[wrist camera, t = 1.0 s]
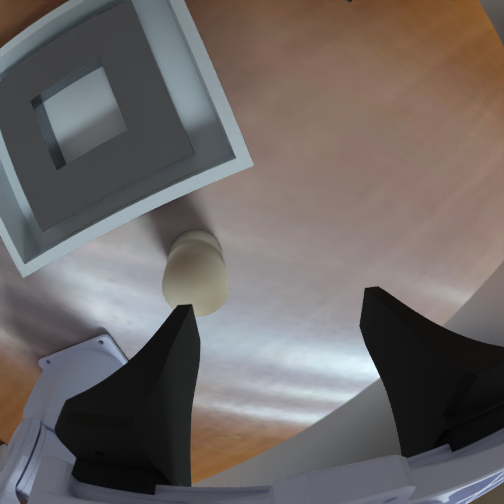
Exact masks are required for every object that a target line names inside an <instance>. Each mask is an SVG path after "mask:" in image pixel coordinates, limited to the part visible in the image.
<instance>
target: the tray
mask: <svg viewBox="0 0 504 504" xmlns="http://www.w3.org/2000/svg"><path fill="white" fill-rule="evenodd" d="M127 1H129V0H69V1H68V2H66V3H64V4H62V5H61V6H59V7H58V8H56V9H54V10H53V11H51V12H50V13H48V14H47V15H45V16H44V17H42V18H41V19H39V20H38V21H36V22H35V23H33V24H32V25H30V26H29V27H28V28H26V29H25V30H23V31H22V32H21V33H19V34H18V35H17V36H15V37H14V38H13V39H12V40H10V41H9V42H8V43H7V44H5V45H4V46H3V47H2V48H0V81H1V80H2V79H3V78H4V77H6V76H7V75H8V74H9V73H10V72H12V71H13V70H14V69H16V68H17V67H18V66H19V65H21V64H22V63H23V62H25V61H26V60H27V59H29V58H30V57H32V56H33V55H34V54H36V53H37V52H39V51H40V50H41V49H43V48H44V47H46V46H47V45H49V44H50V43H52V42H53V41H55V40H57V39H58V38H60V37H61V36H63V35H65V34H66V33H68V32H69V31H71V30H73V29H75V28H76V27H78V26H80V25H81V24H83V23H85V22H87V21H89V20H90V19H92V18H94V17H96V16H98V15H100V14H102V13H104V12H106V11H108V10H110V9H112V8H114V7H116V6H118V5H120V4H122V3H125V2H127ZM131 1H132V3H133V5H134V7H135V9H136V12H137V14H138V17H139V19H140V21H141V24H142V26H143V29H144V31H145V34H146V36H147V39H148V41H149V44H150V46H151V49H152V51H153V53H154V56H155V58H156V61H157V63H158V66H159V68H160V70H161V73H162V75H163V78H164V80H165V82H166V85H167V87H168V90H169V92H170V94H171V97H172V99H173V102H174V104H175V106H176V109H177V111H178V114H179V116H180V118H181V121H182V123H183V126H184V128H185V130H186V133H187V135H188V137H189V140H190V142H191V144H192V147H193V149H194V152H195V153H194V154H193V155H190V156H188V157H186V158H183V159H181V160H179V161H177V162H175V163H172V164H170V165H168V166H166V167H164V168H162V169H159V170H157V171H155V172H153V173H151V174H149V175H147V176H145V177H143V178H141V179H139V180H137V181H135V182H133V183H131V184H129V185H127V186H125V187H123V188H121V189H119V190H117V191H115V192H113V193H111V194H109V195H108V196H106V197H104V198H102V199H100V200H98V201H96V202H95V203H93V204H91V205H89V206H87V207H86V208H84V209H82V210H80V211H79V212H77V213H75V214H73V215H72V216H70V217H68V218H67V219H65V220H63V221H61V222H60V223H58V224H56V225H55V226H53V227H52V228H50V229H48V230H47V231H45V232H43V233H42V231H41V229H40V227H39V225H38V223H37V221H36V218H35V216H34V214H33V212H32V210H31V208H30V205H29V203H28V201H27V199H26V197H25V194H24V192H23V190H22V187H21V185H20V182H19V180H18V177H17V175H16V172H15V170H14V167H13V165H12V162H11V159H10V157H9V154H8V151H7V148H6V145H5V143H4V140H3V137H2V134H1V130H0V236H1V238H2V240H3V242H4V244H5V246H6V248H7V250H8V252H9V254H10V255H11V257H12V259H13V261H14V263H15V265H16V267H17V268H18V270H19V272H20V274H21V276H22V277H23V278H25V277H26V276H28V275H30V274H31V273H33V272H35V271H36V270H38V269H40V268H42V267H43V266H45V265H47V264H49V263H50V262H52V261H54V260H56V259H57V258H59V257H61V256H63V255H65V254H66V253H68V252H70V251H72V250H74V249H76V248H77V247H79V246H81V245H83V244H85V243H87V242H89V241H91V240H93V239H94V238H96V237H98V236H100V235H102V234H104V233H106V232H108V231H110V230H112V229H114V228H116V227H118V226H120V225H122V224H124V223H126V222H128V221H130V220H132V219H134V218H136V217H138V216H140V215H142V214H144V213H146V212H148V211H151V210H153V209H155V208H157V207H159V206H161V205H163V204H165V203H168V202H170V201H172V200H174V199H176V198H179V197H181V196H183V195H185V194H187V193H190V192H192V191H194V190H196V189H199V188H201V187H203V186H206V185H208V184H210V183H213V182H215V181H217V180H220V179H222V178H224V177H227V176H229V175H232V174H234V173H237V172H239V171H241V170H244V169H246V168H249V167H251V166H254V165H253V162H252V160H251V157H250V155H249V152H248V150H247V147H246V145H245V142H244V140H243V137H242V135H241V132H240V130H239V127H238V125H237V122H236V120H235V117H234V115H233V113H232V110H231V108H230V105H229V103H228V100H227V98H226V96H225V93H224V91H223V88H222V86H221V84H220V81H219V79H218V77H217V74H216V72H215V70H214V67H213V65H212V62H211V60H210V58H209V56H208V53H207V51H206V49H205V46H204V44H203V42H202V39H201V37H200V35H199V33H198V30H197V28H196V26H195V24H194V21H193V19H192V17H191V15H190V12H189V10H188V8H187V6H186V4H185V1H184V0H131ZM43 104H44V107H45V110H46V113H47V115H48V118H49V121H50V124H51V126H52V129H53V132H54V134H55V137H56V140H57V142H58V145H59V147H60V150H61V152H62V155H63V157H64V159H65V162H66V164H68V163H70V162H72V161H73V160H75V159H76V158H78V157H80V156H81V155H83V154H85V153H87V152H88V151H90V150H92V149H94V148H95V147H97V146H99V145H101V144H102V143H104V142H106V141H108V140H110V139H112V138H113V137H115V136H117V135H119V134H121V133H123V132H125V131H127V130H128V129H127V126H126V124H125V121H124V119H123V117H122V114H121V112H120V109H119V107H118V104H117V102H116V99H115V97H114V94H113V92H112V89H111V87H110V84H109V81H108V79H107V76H106V73H105V71H104V68H103V66H102V67H100V68H98V69H97V70H95V71H93V72H91V73H89V74H88V75H86V76H84V77H83V78H81V79H79V80H78V81H76V82H74V83H73V84H71V85H69V86H68V87H66V88H65V89H63V90H61V91H60V92H58V93H57V94H55V95H54V96H52V97H51V98H49V99H48V100H46V101H45V102H43Z"/></svg>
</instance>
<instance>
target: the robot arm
mask: <svg viewBox="0 0 504 504" xmlns="http://www.w3.org/2000/svg"><path fill="white" fill-rule="evenodd" d="M359 326H360V329H361V332H362V336H363V339H364V342H365V345H366V347H367V349H368V351H369V354H370V356H371V358H372V360H373V362H374V364H375V366H376V369H377V371H378V373H379V375H380V377H381V379H382V381H383V383H384V386H385V389H386V391H387V395H388V398H389V401H390V404H391V408H392V412H393V415H394V419H395V423H396V427H397V432H398V437H399V442H400V447H401V454H402V456H399V455H389V456H383V457H378V458H374V459H370V460H366V461H362V462H358V463H353V464H349V465H344V466H339V467H333V468H328V469H322V470H316V471H309V472H303V473H299V474H294V475H289V476H286V477H284V478H282V479H280V480H277V481H276V482H275V483H273V485H266V486H252V487H222V488H221V487H216V488H215V487H191V463H190V438H191V412H192V404H193V398H194V392H195V386H196V380H197V375H198V369H199V363H200V337H199V333H198V328H197V324H196V319H195V315H194V310H193V305H192V304H183V305H177V306H176V308H175V309H174V310H173V311H172V313H171V314H170V315H169V317H168V318H167V319H166V321H165V322H164V323H163V324H162V326H161V327H160V328H159V329H158V331H157V332H156V333H155V334H154V336H153V337H152V338H151V339H150V340H149V341H148V342H147V343H146V344H145V346H144V347H143V348H142V349H141V350H140V351H139V352H138V353H137V354H136V355H135V356H134V357H133V358H131V359H130V360H129V361H128V360H127V359H126V358H125V356H124V355H123V354H122V352H121V351H120V349H119V348H118V347H117V345H116V344H115V342H114V341H113V340H112V338H111V337H110V336H109V335H107V334H102V335H100V336H97V337H95V338H92V339H90V340H87V341H85V342H82V343H80V344H77V345H74V346H72V347H69V348H67V349H64V350H62V351H59V352H56V353H54V354H51V355H49V356H46V357H43V358H41V359H39V361H38V364H39V366H40V367H41V368H42V370H43V371H42V373H41V375H40V376H39V378H38V380H37V382H36V384H35V386H34V388H33V390H32V392H31V394H30V396H29V398H28V401H27V403H26V405H25V407H24V411H23V420H22V421H21V423H20V424H19V425H18V427H17V429H16V430H15V432H14V434H13V436H12V438H11V440H10V442H9V444H8V446H7V449H6V451H5V453H4V456H3V459H2V461H1V464H0V504H467V503H469V502H471V501H473V500H474V499H476V498H478V497H480V496H481V495H483V494H485V493H486V492H488V491H490V490H491V489H493V488H495V487H496V486H498V485H499V484H501V483H502V482H504V347H501V346H496V345H491V344H486V343H483V342H480V341H476V340H473V339H470V338H467V337H465V336H462V335H459V334H457V333H454V332H452V331H450V330H448V329H446V328H444V327H442V326H440V325H438V324H436V323H434V322H432V321H430V320H429V319H427V318H425V317H424V316H422V315H420V314H419V313H417V312H415V311H414V310H412V309H411V308H409V307H408V306H406V305H405V304H403V303H402V302H401V301H399V300H398V299H396V298H395V297H393V296H392V295H390V294H389V293H388V292H386V291H385V290H383V289H381V288H380V287H378V286H377V287H369V288H365V291H364V299H363V306H362V312H361V319H360V325H359ZM99 340H102V341H103V342H100V341H99ZM48 360H49V361H50V362H49V361H48ZM26 498H27V499H26Z"/></svg>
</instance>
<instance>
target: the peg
mask: <svg viewBox="0 0 504 504" xmlns="http://www.w3.org/2000/svg"><path fill="white" fill-rule="evenodd" d="M162 291H163V295H164V297H165V299H166V301H167V303H168V304H169V305H170V306H171V307H172V308H173V309H175V308H176V306H177V305H183V304H192V305H193V310H194V315H195V317H200V316H205V315H208V314H211V313H213V312H215V311H216V310H218V309H219V308H220V307H221V306H222V305H223V303H224V302H225V300H226V298H227V296H228V292H229V281H228V276H227V272H226V267H225V262H224V257H223V253H222V248H221V245H220V243H219V242H218V240H217V239H216V238H215V237H214V236H213V235H212V234H210V233H208V232H206V231H202V230H190V231H186V232H184V233H182V234H180V235H179V236H178V237H177V238H176V239H175V240H174V242H173V243H172V245H171V248H170V252H169V256H168V260H167V264H166V268H165V273H164V277H163V281H162Z"/></svg>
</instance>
